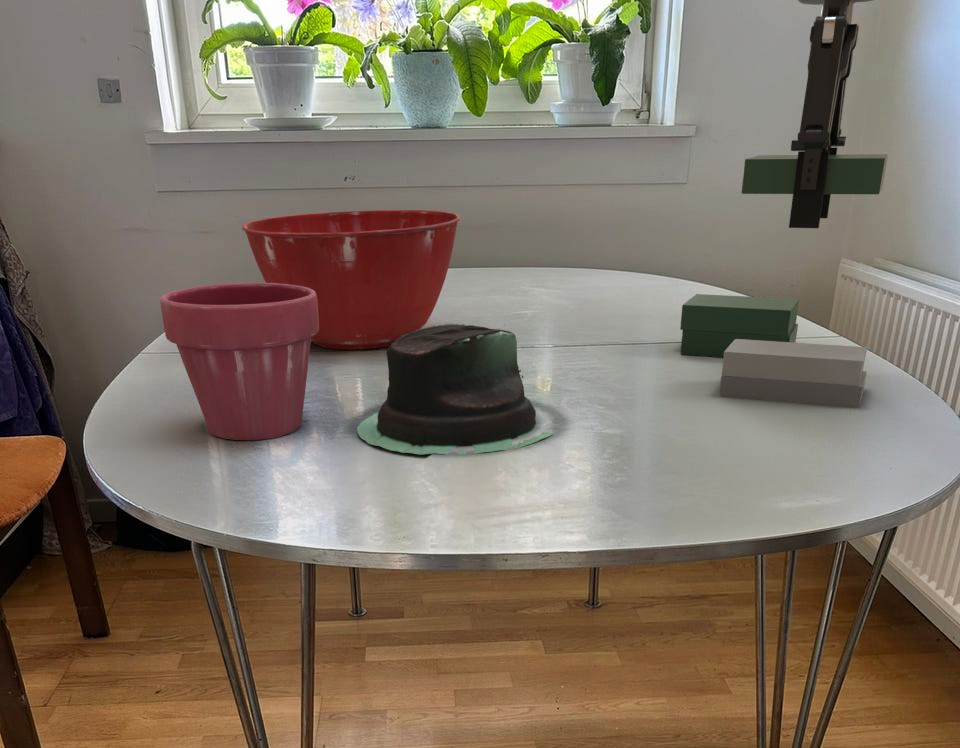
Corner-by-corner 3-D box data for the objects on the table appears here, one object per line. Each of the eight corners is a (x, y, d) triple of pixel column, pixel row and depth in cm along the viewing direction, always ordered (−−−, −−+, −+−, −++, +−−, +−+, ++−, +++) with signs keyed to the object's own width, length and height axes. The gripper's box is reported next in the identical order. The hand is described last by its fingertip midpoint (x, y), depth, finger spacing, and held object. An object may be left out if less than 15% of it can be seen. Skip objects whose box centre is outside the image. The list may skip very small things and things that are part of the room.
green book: (882, 187, 95) (888, 154, 94) (879, 194, 87) (885, 158, 86) (755, 187, 99) (758, 155, 98) (741, 193, 92) (744, 159, 90)
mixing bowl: (255, 369, 116) (238, 233, 109) (257, 325, 141) (243, 212, 133) (480, 355, 121) (478, 224, 113) (444, 315, 145) (440, 205, 138)
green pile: (794, 347, 122) (801, 299, 119) (786, 361, 115) (793, 310, 112) (691, 341, 127) (696, 294, 124) (678, 354, 120) (682, 304, 117)
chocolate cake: (432, 381, 105) (597, 407, 97) (350, 504, 98) (522, 544, 89) (390, 264, 93) (575, 282, 85) (293, 393, 86) (486, 427, 77)
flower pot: (337, 407, 100) (325, 279, 94) (317, 447, 88) (302, 304, 82) (203, 409, 100) (182, 282, 94) (164, 450, 88) (138, 307, 82)
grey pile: (862, 394, 101) (871, 347, 99) (858, 411, 96) (867, 361, 93) (730, 384, 106) (735, 338, 104) (718, 399, 100) (723, 351, 98)
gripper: (813, -34, 94) (783, 212, 105) (788, -68, 76) (754, 233, 87) (894, -40, 92) (854, 213, 102) (887, -76, 74) (840, 235, 84)
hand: (808, 222), depth 95 cm, fingers closed on green book, 9 cm apart
